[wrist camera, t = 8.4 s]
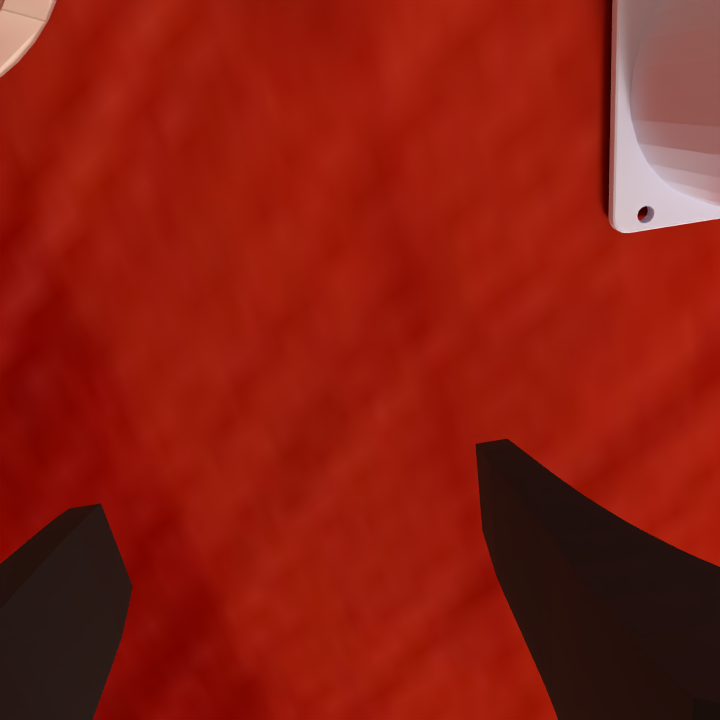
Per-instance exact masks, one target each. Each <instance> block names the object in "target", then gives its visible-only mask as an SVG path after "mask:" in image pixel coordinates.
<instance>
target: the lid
mask: <svg viewBox="0 0 720 720" xmlns="http://www.w3.org/2000/svg"><path fill="white" fill-rule="evenodd" d="M4 2H5V0H0V12H1V9H2V7H3V4H4Z"/></svg>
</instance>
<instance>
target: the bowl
mask: <svg viewBox="0 0 720 720" xmlns="http://www.w3.org/2000/svg"><path fill="white" fill-rule="evenodd" d="M56 1H57V0H5V2H4V4H3V7H2V9H1V12H0V78H1V77H2V76H3V75H4V74H5V73H6V72H8V71H9V70H10V69H11V68H12V67H13V66H15V65H16V64H17V63H18V62H19V61H20V60H21V59H22V57H23V56H24V55H25V54H26V53H27V51H28V50H29V49H30V48H31V47H32V45H33V44H34V43H35V42H36V40H37V38H38V37H39V35H40V33H41V32H42V30H43V28H44V27H45V25H46V23H47V22H48V20H49V18H50V16H51V13H52V11H53V8H54V6H55V4H56Z"/></svg>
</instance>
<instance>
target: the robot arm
mask: <svg viewBox="0 0 720 720" xmlns="http://www.w3.org/2000/svg"><path fill="white" fill-rule="evenodd" d="M644 206H647V208H648V213H647V216H646V217H645V218H644V219H642V220H640V221H639V220H638V217H637V215H638V211H639V210H640V209H641V208H642V207H644ZM719 218H720V0H613V3H612V59H611V115H610V171H609V222H610V225H611V226H612V227H613V228H614V229H616V230H618V231H620V232H622V233H631V232H637V231H643V230H650V229H656V228H662V227H669V226H675V225H681V224H688V223H694V222H700V221H706V220H713V219H719ZM476 455H477V468H478V480H479V493H480V505H481V517H482V530H483V533H484V537H485V540H486V543H487V547H488V550H489V553H490V557H491V560H492V563H493V566H494V569H495V573H496V576H497V578H498V581H499V583H500V585H501V588H502V590H503V592H504V594H505V597H506V599H507V601H508V603H509V606H510V608H511V610H512V613H513V615H514V617H515V619H516V621H517V624H518V626H519V628H520V630H521V633H522V635H523V637H524V639H525V642H526V644H527V646H528V648H529V651H530V653H531V655H532V657H533V659H534V662H535V664H536V666H537V668H538V671H539V673H540V675H541V677H542V680H543V682H544V684H545V687H546V689H547V692H548V694H549V697H550V699H551V702H552V704H553V707H554V709H555V712H556V715H557V718H558V720H720V567H719V566H716V565H714V564H711V563H709V562H707V561H704V560H702V559H699V558H697V557H695V556H693V555H691V554H688V553H686V552H684V551H682V550H680V549H678V548H676V547H674V546H672V545H670V544H668V543H666V542H664V541H662V540H660V539H658V538H656V537H654V536H652V535H650V534H648V533H646V532H644V531H642V530H640V529H639V528H637V527H635V526H633V525H631V524H630V523H628V522H626V521H624V520H623V519H621V518H619V517H618V516H616V515H614V514H613V513H611V512H609V511H608V510H606V509H605V508H603V507H601V506H600V505H598V504H596V503H595V502H593V501H592V500H590V499H589V498H587V497H586V496H584V495H583V494H581V493H580V492H578V491H577V490H575V489H574V488H572V487H571V486H570V485H568V484H567V483H565V482H564V481H562V480H561V479H560V478H558V477H557V476H556V475H554V474H553V473H552V472H550V471H549V470H548V469H546V468H545V467H544V466H542V465H541V464H540V463H538V462H537V461H536V460H534V459H533V458H532V457H531V456H529V455H528V454H527V453H525V452H524V451H523V450H522V449H520V448H519V447H518V446H516V445H515V444H514V443H512V442H511V441H510V440H508V439H503V440H497V441H490V442H484V443H478V444H476ZM131 590H132V584H131V581H130V578H129V576H128V573H127V571H126V568H125V565H124V563H123V560H122V557H121V555H120V552H119V550H118V547H117V544H116V542H115V539H114V537H113V534H112V531H111V529H110V526H109V524H108V521H107V518H106V516H105V513H104V510H103V508H102V505H101V504H95V505H89V506H82V507H76V508H70V509H68V510H67V511H65V512H64V513H62V514H61V515H59V516H58V517H57V518H56V519H54V520H53V521H52V522H50V523H49V524H48V525H47V526H45V527H44V528H43V529H42V530H41V531H39V532H38V533H37V534H36V535H34V536H33V537H32V538H31V539H30V540H28V541H27V542H26V543H25V544H24V545H23V546H21V547H20V548H19V549H18V550H17V551H15V552H14V553H13V554H12V555H11V556H9V557H8V558H7V559H6V560H5V561H3V562H2V563H1V564H0V720H92V719H93V717H94V714H95V711H96V708H97V706H98V703H99V700H100V697H101V695H102V692H103V689H104V686H105V684H106V681H107V678H108V675H109V672H110V669H111V667H112V664H113V661H114V658H115V655H116V652H117V650H118V647H119V644H120V641H121V638H122V634H123V629H124V625H125V620H126V616H127V611H128V606H129V601H130V596H131Z"/></svg>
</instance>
